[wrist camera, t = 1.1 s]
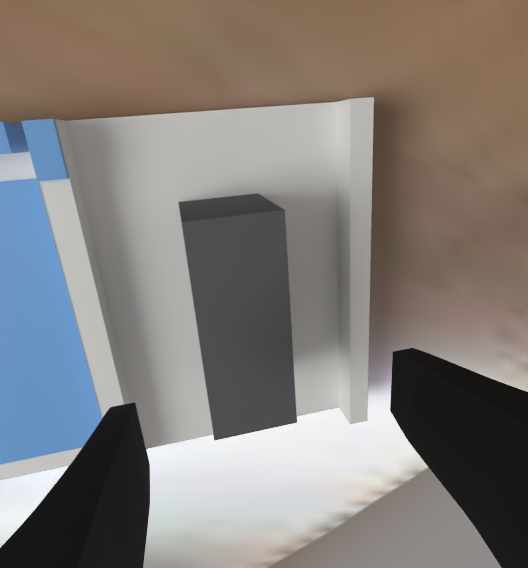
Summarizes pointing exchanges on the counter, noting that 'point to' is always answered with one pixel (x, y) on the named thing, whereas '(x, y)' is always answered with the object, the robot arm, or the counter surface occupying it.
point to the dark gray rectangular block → (242, 310)
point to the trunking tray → (168, 266)
